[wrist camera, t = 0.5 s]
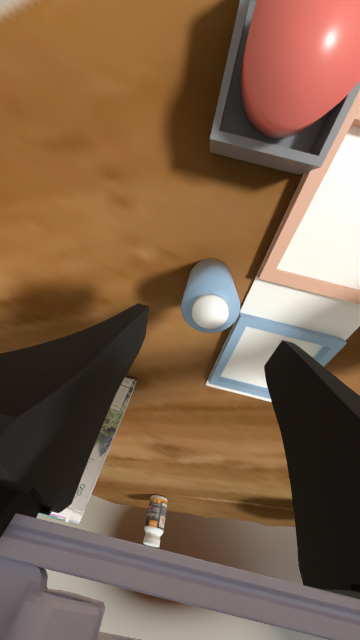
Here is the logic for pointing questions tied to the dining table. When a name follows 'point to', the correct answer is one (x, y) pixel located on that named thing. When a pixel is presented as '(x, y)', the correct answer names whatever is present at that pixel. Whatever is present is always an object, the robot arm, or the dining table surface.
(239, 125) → the button base
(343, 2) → the button
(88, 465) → the syrup box
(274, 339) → the sheet
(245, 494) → the dining table surface
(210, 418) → the dining table surface
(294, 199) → the region terracotta
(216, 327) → the blue cylinder
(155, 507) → the pill bottle
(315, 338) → the region blue
